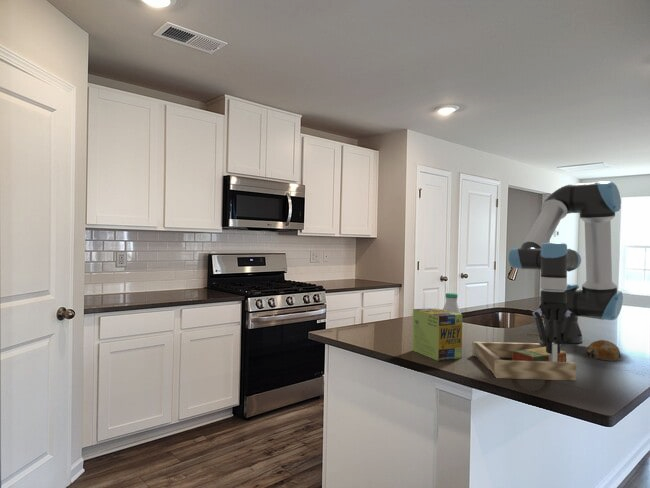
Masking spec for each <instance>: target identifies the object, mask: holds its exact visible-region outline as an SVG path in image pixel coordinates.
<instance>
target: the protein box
mask: <svg viewBox="0 0 650 488" xmlns="http://www.w3.org/2000/svg"><path fill="white" fill-rule="evenodd" d="M411 344H412V346H411V347H412V349H411V350H412V351H414V352H415V353H418V354H421V355H422V356H425V357H428V358H430V359H433V360H434V361H437V362H440V361H442V360H443V361H449V360H459V359H462V358H463V355H462V354H463V314H462V313H461V314H459V313H454V312H450V311H446V310H443V309H440V308H436V307H434V308H414V309H412V343H411ZM458 358H459V359H458Z"/></svg>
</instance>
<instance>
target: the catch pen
mask: <svg viewBox="0 0 650 488" xmlns="http://www.w3.org/2000/svg"><path fill="white" fill-rule="evenodd" d="M471 347H472V348H471V349H472V350H471V351H472V352H471V353H472V354H471V355H473V356H476V357H477V358H478V359H477V358H476V357H475V358H476V359H477V360H478V361H480V362H481V363H482V364H483V365H484V366H485V367H486V368H487V369H488V370H489V369H490V370H491V371H492V374H493V376H495V377H496V379H513V380H514V379H515V380H516V379H517V380H546V381H547V380H550V381H551V380H553V381H576V378H577V377H576V374H577V369H576V368H577V363H576V362H573V361H566V362H551V361H515V360H512V358H513V351H518V350H524V349H531V348H538V347H542V346H541V344H540V343H539V342H536V343H535V342H507V341H506V342H504V341H503V342H499V341H497V342H496V341H495V342H494V341H472V345H471ZM473 356H472V357H473ZM501 358H504V359H501ZM505 358H506V359H507V358H509V360H508V359H507V360H506V359H505ZM510 358H511V360H510ZM490 370H489V371H490ZM495 377H494V378H495Z"/></svg>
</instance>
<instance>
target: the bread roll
mask: <svg viewBox="0 0 650 488" xmlns="http://www.w3.org/2000/svg"><path fill="white" fill-rule="evenodd" d="M585 354H586V355H587V356H588V357H589V358H591V359H596V360H601V361H608V362H609V361H610V362H616V361H617V362H618V361H621V360H622V359H621V351H620V349H619V347H618V346H617V345H616V344H615V343H613V342H611V341H609V340H605V339H599V340H596V341H593V342H591V343H590V344H589V345H588V346H586V352H585Z"/></svg>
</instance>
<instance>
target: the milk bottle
mask: <svg viewBox="0 0 650 488" xmlns="http://www.w3.org/2000/svg"><path fill="white" fill-rule="evenodd" d="M458 298H459V297H458V293H455V292H446V293H445V304H444V306H443V308H442V310H446V311H450V312H454V313H459V314H462V313H461V309H460V307H459V305H458Z"/></svg>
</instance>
